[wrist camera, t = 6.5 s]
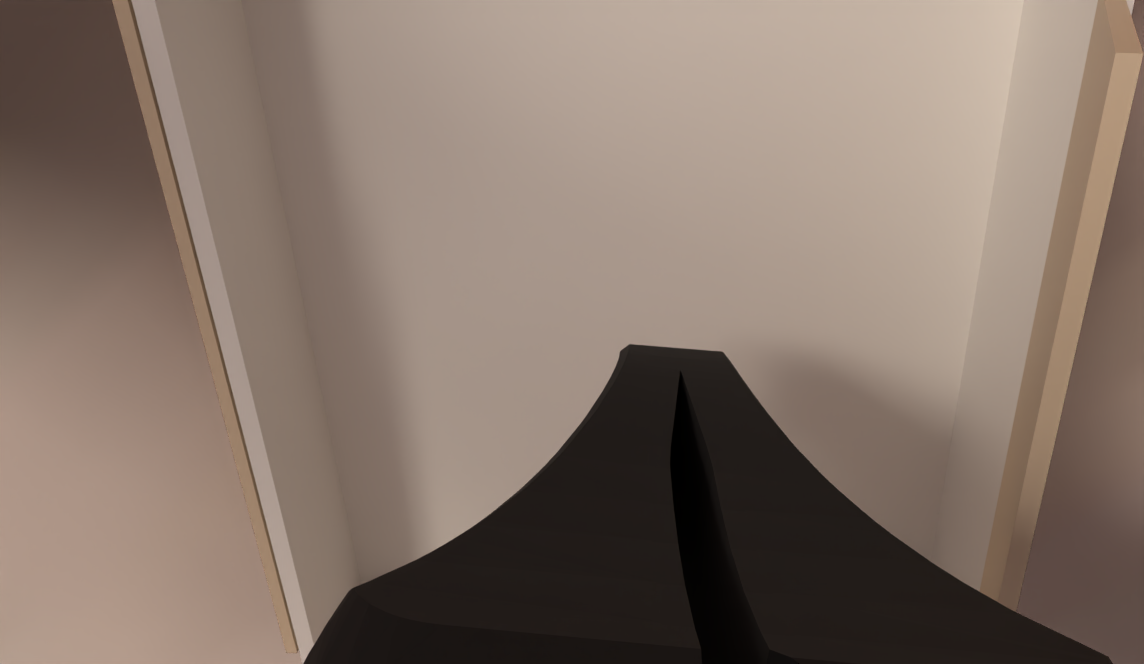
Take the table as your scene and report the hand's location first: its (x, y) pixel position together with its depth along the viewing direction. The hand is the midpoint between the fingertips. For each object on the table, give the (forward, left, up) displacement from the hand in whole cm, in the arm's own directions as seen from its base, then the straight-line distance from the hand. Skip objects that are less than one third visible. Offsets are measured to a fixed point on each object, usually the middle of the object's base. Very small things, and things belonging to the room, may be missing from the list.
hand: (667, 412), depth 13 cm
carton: (0, -1, -4) cm, 4 cm away
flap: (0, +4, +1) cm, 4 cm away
